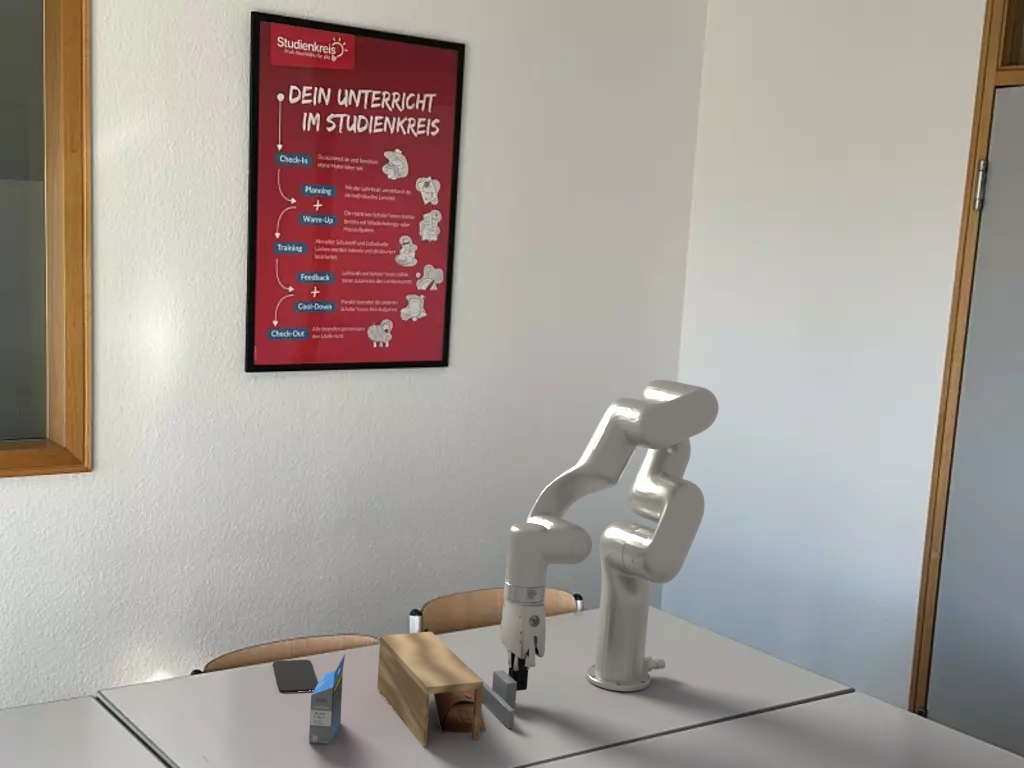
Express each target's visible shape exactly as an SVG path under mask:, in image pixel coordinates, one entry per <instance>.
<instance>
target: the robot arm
mask: <svg viewBox="0 0 1024 768" xmlns="http://www.w3.org/2000/svg"><path fill="white" fill-rule="evenodd" d="M718 414H719V402H718V400H717V397H716V396H715V394H714V393H713V392H712V391H711V390H710V389H708V388H706V387H703V386H698V385H694V384H688V383H684V382H683V383H682V382H678V381H672V380H667V379H657V380H656V379H655V380H653V381H652V380H651V381H650V382H648V383H647V384H646V385H645V386H644V388H642V391H641V396H640V399H637V398H636V399H635V398H630V397H629V398H627V397H620V398H617V399H614V400H613V401H612V402H611V403H610V404H608V406H607V407H606V409H605V411H604V413H603V415H602V416H601V418H600V420H599V422H598V424H597V426H596V427H595V430H594V431H593V434H592V435H591V437H590V438H589V441H588V443H587V444H586V446H585V447H584V449H583V452H582V454H581V455H580V457H579V459H578V461H577V462H576V463H575V464H574V465H572V466H571V467H570V468H568V469H567V470H565V471H564V472H563V473H560V474H559V476H557V477H556V478H555V479H554V480H552V481H551V482H550V483H549V484H548V485H547V486H546V487H545V488H544V489H543V490H542V491H541V493H540V494H539V496H538V498H536V500H535V502H534V505H533V506H532V509H531V510H530V512H529V514H528V515H527V518H526V521H525V522H524V521H523V522H518V523H514V524H513V525H511V526H510V528H509V530H508V536H507V546H506V547H507V549H506V559H505V560H506V563H505V574H504V575H505V577H504V585H503V601H504V602H503V607H502V614H501V623H500V642H501V644H502V645H503V646H504V648H505V649H506V651H507V657H508V658H507V660H508V661H507V662H508V663H507V664H508V666H509V667H508V673H507V674H508V675H509V676H510V677H511V678H512V679H514V680H515V681H516V682H517V688H516V692H517V691H526V690H527V688H528V679H529V678H528V677H529V670H530V669H531V668H533V667H536V656H537V657H539V658H544V656H545V652H546V628H547V627H546V607H545V604H544V603H545V601H546V600H545V599H546V592H547V591H546V587H547V575H548V566H549V565H561V566H563V565H564V566H570V565H571V566H573V565H577V564H579V563H582V562H583V561H585V560H586V559H587V558H588V557H589V556H590V554H591V552H592V549H593V540H592V537H591V535H590V533H589V532H588V530H586V529H585V528H584V527H582V526H581V525H578V524H576V523H573V522H570V521H568V520H566V519H563V518H564V516H565V514H566V513H567V511H568V510H569V509H570V508H571V506H573V504H575V503H576V502H577V501H578V500H580V499H582V498H584V497H585V496H588V495H590V494H594V493H598V492H601V491H605V490H609V489H612V488H613V487H616V486H617V485H618V483H619V482H620V480H621V478H622V477H623V474H624V472H625V470H626V468H627V467H628V464H629V463H630V461H631V459H632V457H633V456H634V453H635V452H636V450H637V448H638V447H641V448H644V449H646V450H645V452H644V453H645V454H644V456H643V458H642V460H641V463H640V465H639V467H638V469H637V472H636V475H635V476H634V479H633V481H632V484H631V486H630V489H629V492H628V495H627V506H628V508H629V510H630V511H631V512H632V513H633V514H635V515H636V516H639V517H640V518H642V519H645V520H647V521H651V522H653V523H657V525H656V527H655V529H654V528H652V527H650V526H646V525H643V524H641V523H638V522H635V521H631V520H626V519H625V520H624V519H623V520H616V521H613V522H612V523H610V524H609V525H608V526H606V528H604V530H603V532H602V534H601V536H600V540H599V550H598V551H599V560H600V568H601V586H600V587H601V588H600V589H601V590H600V600H599V609H598V612H599V613H598V622H597V623H598V625H597V633H596V634H597V635H596V636H597V637H596V647H595V648H596V649H595V661H594V664H592V665H590V666H589V667H587V669H586V674H585V675H586V679H587V680H588V681H589V682H590V683H591V684H593V685H595V686H597V687H599V688H602V689H605V690H610V691H615V692H636V691H641V690H644V689H646V688H648V687H649V686H650V685H651V678H652V677H651V675H650V674H649V672H652V671H653V670H663V669H665V667H666V662H665V659H664V658H657V659H653V657H652V656H645V654H646V644H647V643H646V642H647V634H648V633H647V632H648V620H649V619H648V618H649V607H650V601H651V595H650V593H651V592H650V585H649V583H653V584H658V585H659V584H660V585H663V584H668V583H669V582H671V581H673V580H674V579H675V577H677V576H678V575H679V572H681V569H682V568H683V565H684V564H685V561H686V559H687V557H688V554H689V552H690V550H691V547H692V545H693V542H694V540H695V537H696V535H697V533H698V530H699V528H700V525H701V523H702V520H703V518H704V512H705V505H706V503H705V497H704V494H703V491H702V490H701V488H700V487H699V486H698V485H697V484H696V483H694V482H692V481H690V480H688V479H685V478H684V475H685V473H686V471H687V470H686V469H687V467H688V465H689V461H690V458H691V452H692V451H691V450H692V449H691V448H692V447H691V441H690V438H692V437H694V436H697V435H699V434H701V433H703V432H705V431H706V430H707V429H709V428H710V427H711V426H712V425H713V424H714V423H715V422H716V419H717V417H718Z"/></svg>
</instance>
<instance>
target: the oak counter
mask: <svg viewBox="0 0 1024 768" xmlns="http://www.w3.org/2000/svg"><path fill="white" fill-rule="evenodd" d="M379 637H380V638H379V654H378V668H377V669H378V671H377V684H376V685H377V686H376V687H377V688H378V689H379V691H380V692H381V693H382V694H381V693H380V692H379V691H378V692H379V693H380V694H381V695H383V696H384V697H385V698H386V699H385V698H384V697H383V696H382V697H383V698H384V699H385V701H386V700H387V701H388V702H389V703H388V702H387V701H386V702H387V703H388V704H389V705H391V706H392V707H393V708H392V707H391V706H390V707H391V708H392V709H393V711H394V710H395V711H396V712H395V711H394V712H395V713H396V715H399V716H398V717H399V719H401V721H402V722H403V723H404V725H405V726H406V727H407V728H408V729H409V731H410V732H411V733H412V735H413V736H414V737H415V738H416V739H417V741H418V742H419V743H420V745H421V746H422V747H423V748H425V747H427V740H428V738H427V737H428V721H429V709H430V707H429V706H430V695H434V694H435V693H444V692H454V691H463V690H472V689H475V693H474V708H473V722H472V733H471V740H473V741H479V740H480V733H481V732H480V720H481V716H482V703H483V702H482V692H483V681H484V680H483V679H482V678H481V677H480V676H479V675H478V674H477V673H476V672H475V671H474V670H473V669H472V668H470V667H469V666H467V664H466V663H464V662H463V660H462V659H460V658H459V656H458V655H456V654H455V653H454V652H453V651H452V650H451V649H450V647H448V646H447V644H445V643H444V642H443V641H442V640H441V639H440V638H439V637H438V636H437V635H436V634H434V633H433V631H423V632H422V631H421V632H411V633H409V632H408V633H399V634H396V633H395V634H385V635H380V636H379ZM471 669H472V670H473V671H474V672H475V673H476V674H477V675H478V676H479V677H480V678H481V679H482V680H483V681H482V680H481V679H480V678H479V677H478V676H477V675H476V674H475V673H474V672H473V671H472V670H471ZM378 689H377V690H378Z"/></svg>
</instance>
